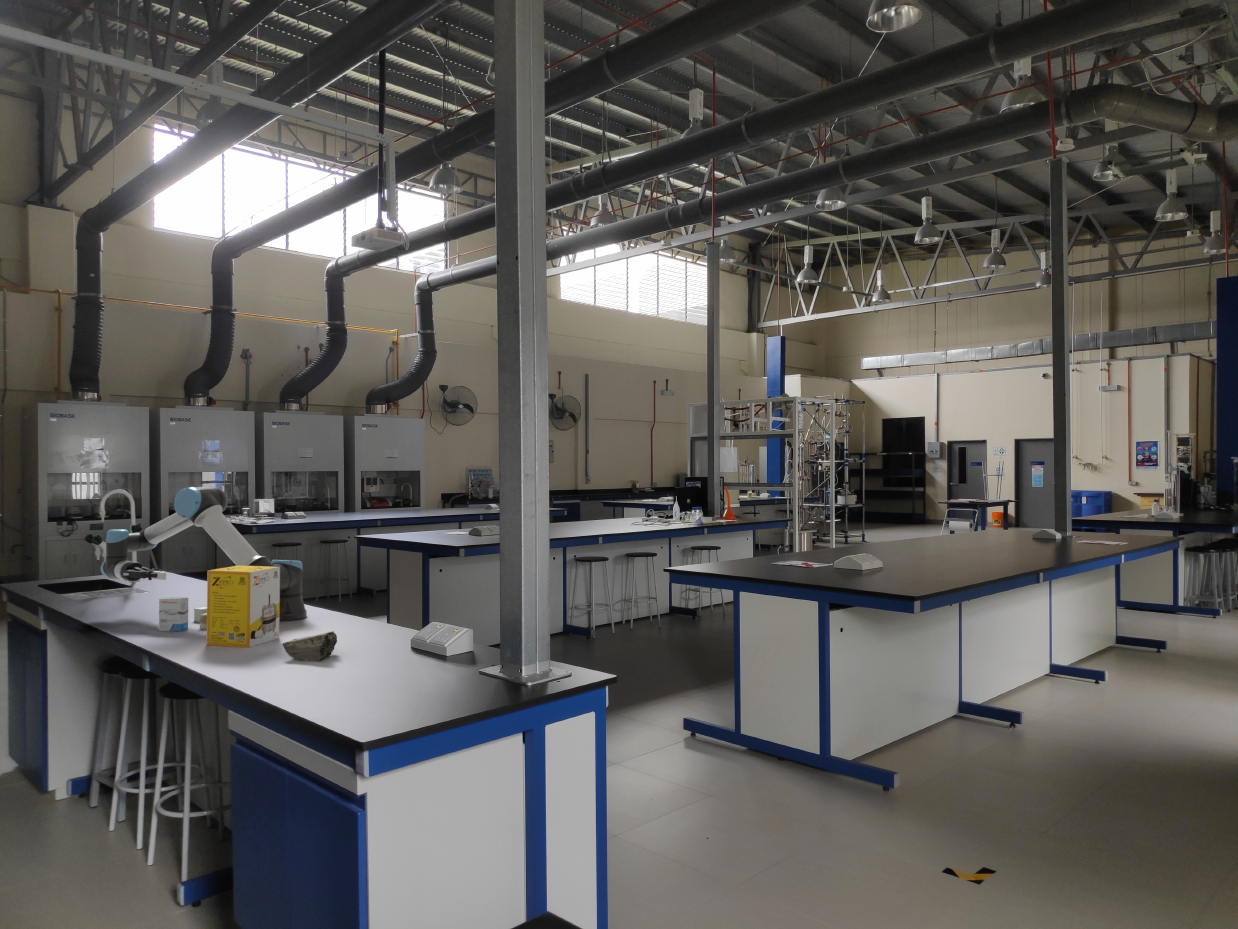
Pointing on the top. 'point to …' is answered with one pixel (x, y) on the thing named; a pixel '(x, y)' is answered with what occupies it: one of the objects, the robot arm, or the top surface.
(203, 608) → the sage cube
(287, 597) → the robot arm
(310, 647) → the concrete fragment
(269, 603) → the packaging box
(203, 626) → the birch cube
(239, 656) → the top surface
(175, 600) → the ink box
